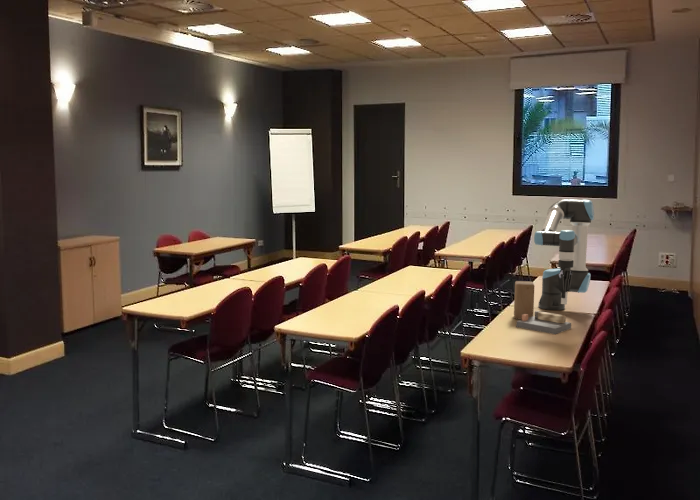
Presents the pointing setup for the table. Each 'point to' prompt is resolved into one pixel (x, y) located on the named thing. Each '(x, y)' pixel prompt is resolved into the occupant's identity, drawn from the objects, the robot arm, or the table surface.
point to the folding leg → (550, 317)
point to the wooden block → (523, 299)
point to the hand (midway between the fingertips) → (563, 303)
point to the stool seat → (542, 325)
